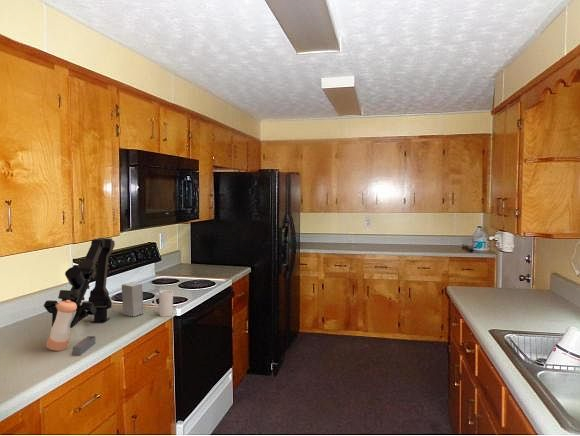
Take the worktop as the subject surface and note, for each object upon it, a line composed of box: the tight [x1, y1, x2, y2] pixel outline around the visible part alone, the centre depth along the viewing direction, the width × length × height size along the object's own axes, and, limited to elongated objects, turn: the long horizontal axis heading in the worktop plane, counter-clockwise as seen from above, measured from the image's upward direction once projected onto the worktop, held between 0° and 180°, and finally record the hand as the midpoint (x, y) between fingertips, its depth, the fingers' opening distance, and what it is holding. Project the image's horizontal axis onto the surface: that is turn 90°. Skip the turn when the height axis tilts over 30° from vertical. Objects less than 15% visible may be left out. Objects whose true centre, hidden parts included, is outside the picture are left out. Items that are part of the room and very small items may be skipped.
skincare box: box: [121, 281, 144, 318], centre depth 204 cm, size 8×7×16 cm
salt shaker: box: [46, 300, 77, 352], centre depth 157 cm, size 7×7×19 cm
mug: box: [153, 289, 174, 318], centre depth 205 cm, size 10×7×12 cm, turn 78°
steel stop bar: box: [72, 335, 96, 356], centre depth 158 cm, size 12×3×3 cm, turn 1°
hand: (61, 327), depth 156 cm, fingers closed on salt shaker, 7 cm apart
